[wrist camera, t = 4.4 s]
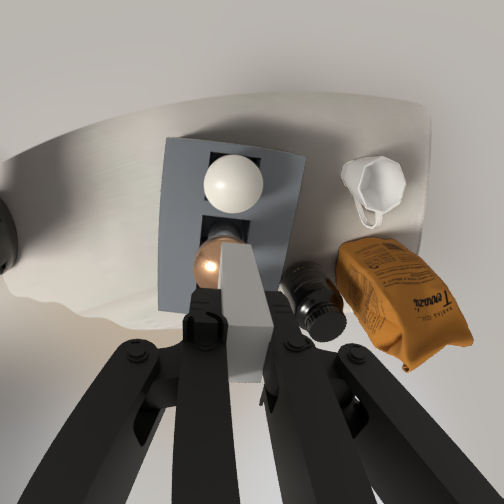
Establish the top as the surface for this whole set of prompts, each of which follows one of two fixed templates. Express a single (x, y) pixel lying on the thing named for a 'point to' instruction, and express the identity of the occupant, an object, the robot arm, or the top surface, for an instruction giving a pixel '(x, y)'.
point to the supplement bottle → (314, 301)
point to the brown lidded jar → (213, 253)
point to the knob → (233, 184)
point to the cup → (374, 185)
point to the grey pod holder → (221, 214)
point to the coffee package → (399, 300)
